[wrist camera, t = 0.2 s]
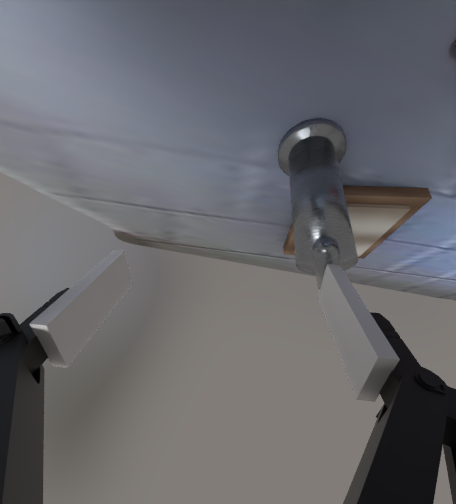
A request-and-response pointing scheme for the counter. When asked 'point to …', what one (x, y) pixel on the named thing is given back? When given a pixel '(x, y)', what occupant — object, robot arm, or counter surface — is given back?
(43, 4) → the counter surface
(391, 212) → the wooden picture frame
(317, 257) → the metal mooring bollard
